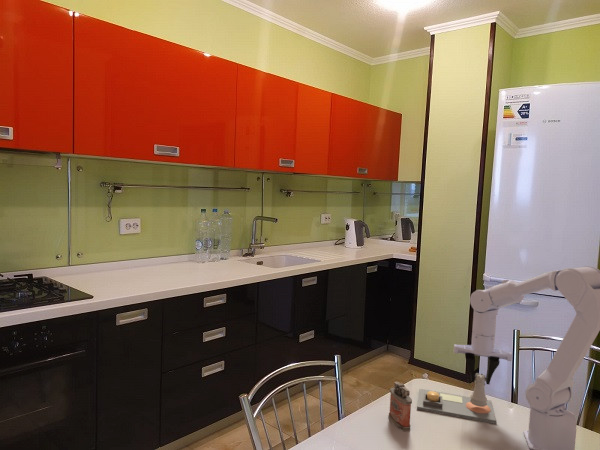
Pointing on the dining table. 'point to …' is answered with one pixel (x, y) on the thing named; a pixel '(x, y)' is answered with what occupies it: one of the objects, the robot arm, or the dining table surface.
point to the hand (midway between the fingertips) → (479, 381)
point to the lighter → (400, 406)
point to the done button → (432, 396)
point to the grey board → (456, 407)
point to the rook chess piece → (479, 391)
